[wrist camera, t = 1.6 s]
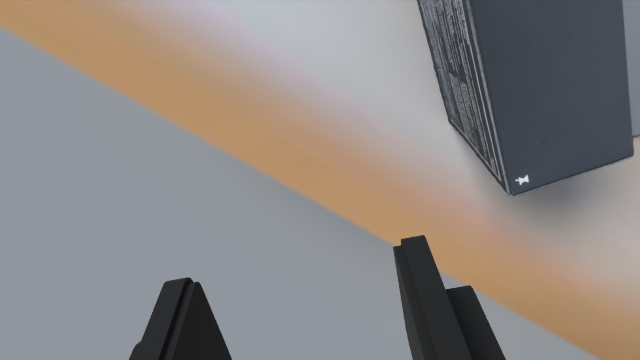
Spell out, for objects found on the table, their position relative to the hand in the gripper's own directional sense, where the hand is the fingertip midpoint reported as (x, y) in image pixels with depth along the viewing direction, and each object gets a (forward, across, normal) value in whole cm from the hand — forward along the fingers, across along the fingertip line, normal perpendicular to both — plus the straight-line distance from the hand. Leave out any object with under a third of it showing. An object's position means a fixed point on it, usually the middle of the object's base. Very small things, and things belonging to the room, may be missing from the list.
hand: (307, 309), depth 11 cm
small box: (+22, -11, 0) cm, 24 cm away
